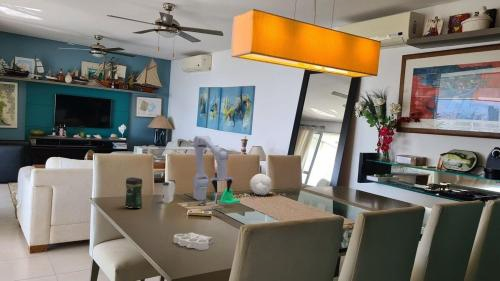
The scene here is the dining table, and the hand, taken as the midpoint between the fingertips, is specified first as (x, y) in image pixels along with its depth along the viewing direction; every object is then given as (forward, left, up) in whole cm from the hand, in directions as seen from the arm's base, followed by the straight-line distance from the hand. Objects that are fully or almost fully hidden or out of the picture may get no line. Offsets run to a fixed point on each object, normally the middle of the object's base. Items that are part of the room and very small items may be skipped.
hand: (222, 192), depth 241 cm
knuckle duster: (+52, -46, -11) cm, 70 cm away
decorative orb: (-26, +50, -11) cm, 58 cm away
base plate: (-8, -11, -10) cm, 17 cm away
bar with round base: (-8, -13, -9) cm, 18 cm away
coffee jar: (-24, -48, -11) cm, 54 cm away
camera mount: (-9, +12, -11) cm, 19 cm away
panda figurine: (-25, -25, -11) cm, 37 cm away
